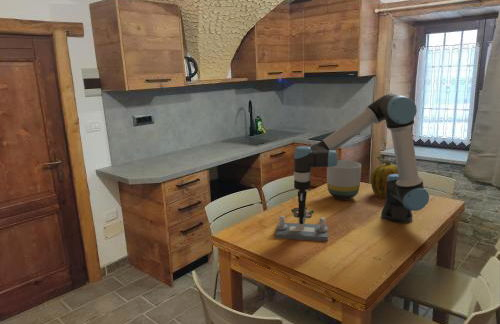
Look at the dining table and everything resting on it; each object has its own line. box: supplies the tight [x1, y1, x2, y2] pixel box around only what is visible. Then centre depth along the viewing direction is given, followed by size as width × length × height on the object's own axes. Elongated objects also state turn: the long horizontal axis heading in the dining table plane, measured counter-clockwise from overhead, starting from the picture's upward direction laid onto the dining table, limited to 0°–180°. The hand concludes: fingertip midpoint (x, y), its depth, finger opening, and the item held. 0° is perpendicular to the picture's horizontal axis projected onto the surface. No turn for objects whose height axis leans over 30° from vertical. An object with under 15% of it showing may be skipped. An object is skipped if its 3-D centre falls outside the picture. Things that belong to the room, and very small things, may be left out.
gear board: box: [274, 215, 329, 242], centre depth 180 cm, size 24×14×8 cm, turn 79°
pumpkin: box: [370, 154, 398, 199], centre depth 227 cm, size 19×19×25 cm
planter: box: [326, 159, 362, 201], centre depth 225 cm, size 20×20×21 cm
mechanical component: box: [291, 207, 315, 222], centre depth 180 cm, size 3×10×10 cm, turn 78°
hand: (301, 226), depth 181 cm, fingers open, 8 cm apart
